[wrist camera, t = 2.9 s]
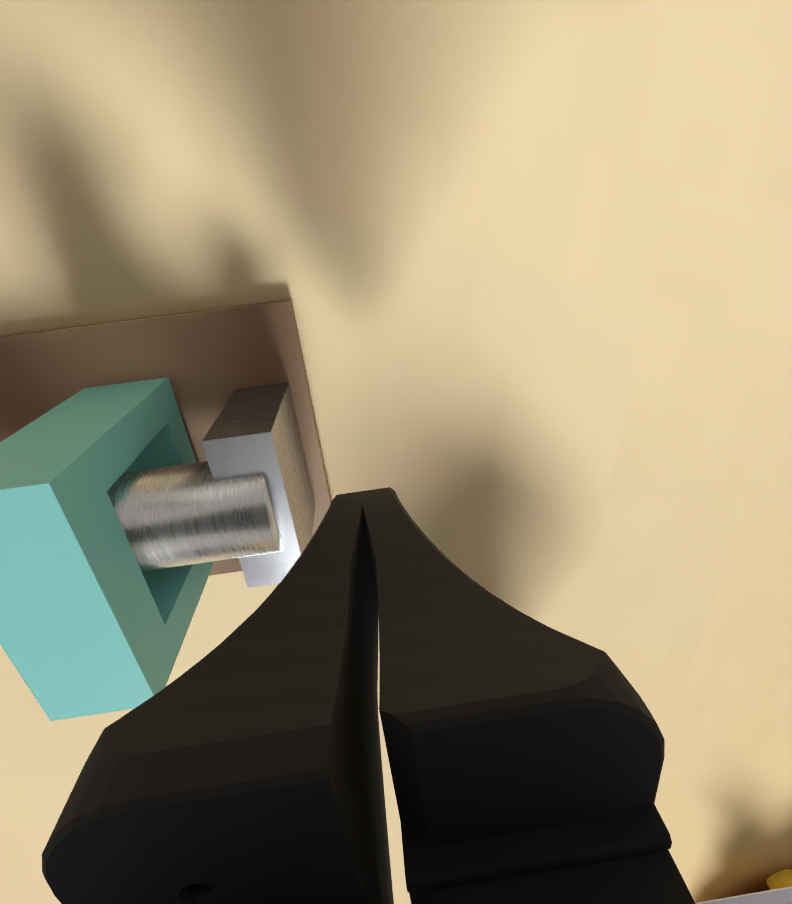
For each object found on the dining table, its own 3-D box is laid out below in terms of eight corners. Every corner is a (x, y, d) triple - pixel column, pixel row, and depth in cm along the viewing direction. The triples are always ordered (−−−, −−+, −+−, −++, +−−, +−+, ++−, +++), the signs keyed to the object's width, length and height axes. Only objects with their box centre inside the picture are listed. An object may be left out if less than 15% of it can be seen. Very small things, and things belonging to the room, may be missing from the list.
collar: (151, 550, 16) (50, 720, 11) (84, 388, 14) (-93, 502, 8) (222, 540, 17) (158, 704, 11) (168, 377, 14) (49, 483, 8)
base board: (-186, 625, 17) (-198, 634, 17) (-394, 387, 13) (-415, 391, 13) (340, 549, 18) (340, 556, 18) (291, 299, 14) (289, 301, 14)
